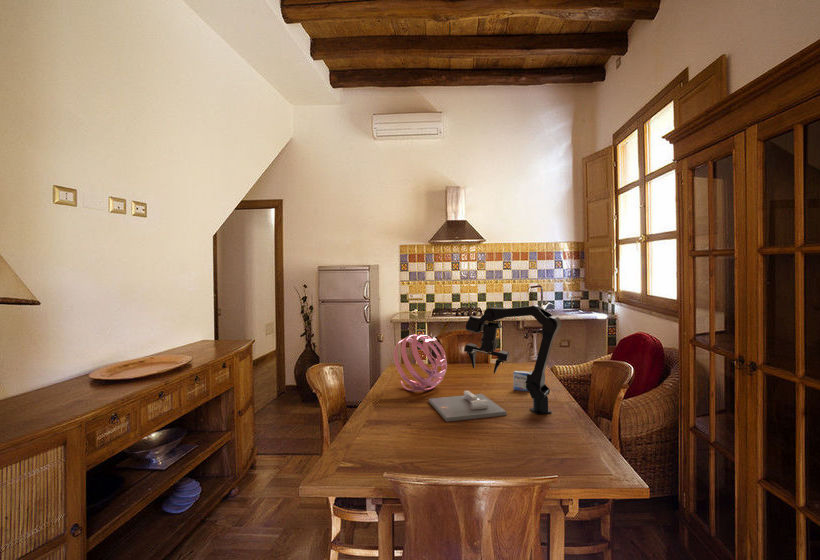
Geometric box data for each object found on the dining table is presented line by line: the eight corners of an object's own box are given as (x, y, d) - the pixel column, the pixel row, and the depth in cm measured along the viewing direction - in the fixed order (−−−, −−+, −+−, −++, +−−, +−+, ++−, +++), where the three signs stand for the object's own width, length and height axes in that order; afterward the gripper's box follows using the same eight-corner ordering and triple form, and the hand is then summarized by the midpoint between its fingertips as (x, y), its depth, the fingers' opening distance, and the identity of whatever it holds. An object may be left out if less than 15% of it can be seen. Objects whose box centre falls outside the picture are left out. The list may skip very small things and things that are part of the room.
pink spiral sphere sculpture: (372, 348, 214) (408, 320, 200) (411, 353, 233) (446, 328, 219) (387, 401, 199) (426, 375, 185) (427, 401, 218) (465, 378, 204)
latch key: (488, 408, 173) (488, 400, 173) (472, 409, 171) (472, 402, 171) (473, 396, 188) (473, 389, 188) (458, 398, 187) (458, 391, 187)
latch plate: (506, 415, 169) (506, 411, 169) (446, 421, 164) (446, 417, 164) (481, 396, 194) (481, 393, 194) (428, 402, 188) (428, 398, 188)
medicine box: (513, 390, 204) (512, 372, 203) (515, 387, 208) (515, 369, 207) (530, 391, 200) (529, 373, 200) (532, 389, 204) (531, 371, 204)
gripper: (514, 337, 187) (509, 371, 189) (473, 328, 195) (468, 361, 197) (509, 342, 177) (503, 378, 179) (466, 332, 185) (461, 367, 187)
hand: (483, 370), depth 186 cm, fingers open, 9 cm apart
